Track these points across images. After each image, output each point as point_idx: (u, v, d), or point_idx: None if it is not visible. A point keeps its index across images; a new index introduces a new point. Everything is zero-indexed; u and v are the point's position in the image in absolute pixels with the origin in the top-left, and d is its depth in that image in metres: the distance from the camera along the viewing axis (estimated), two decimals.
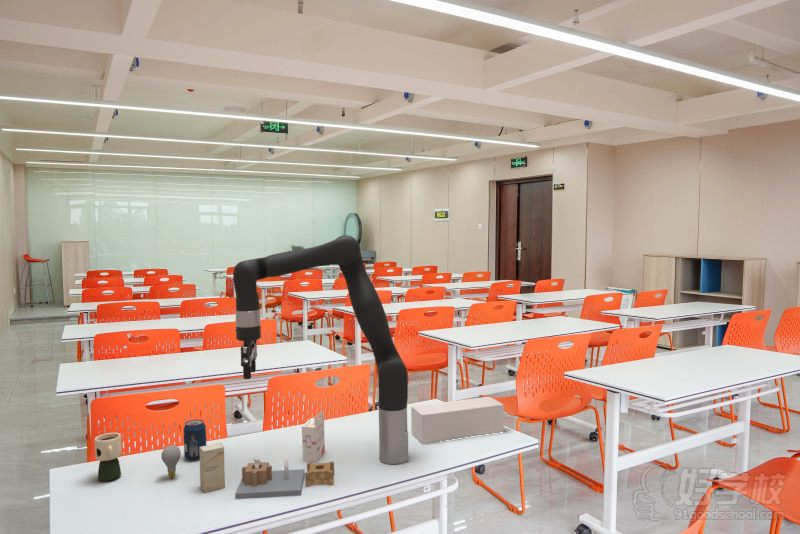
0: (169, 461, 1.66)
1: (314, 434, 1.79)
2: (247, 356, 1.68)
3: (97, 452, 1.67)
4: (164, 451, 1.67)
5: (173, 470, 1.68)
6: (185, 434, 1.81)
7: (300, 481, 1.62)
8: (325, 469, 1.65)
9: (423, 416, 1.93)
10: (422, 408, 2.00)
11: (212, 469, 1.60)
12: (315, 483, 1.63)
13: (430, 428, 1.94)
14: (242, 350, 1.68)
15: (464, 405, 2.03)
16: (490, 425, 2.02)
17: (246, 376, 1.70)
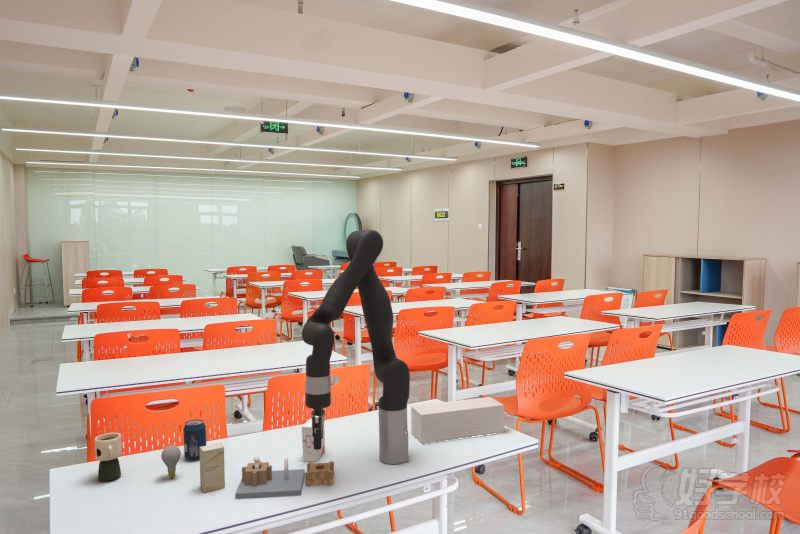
0: (169, 461, 1.66)
1: None
2: (319, 426, 1.58)
3: (97, 452, 1.67)
4: (164, 451, 1.67)
5: (173, 470, 1.68)
6: (185, 434, 1.81)
7: (300, 481, 1.62)
8: (325, 469, 1.65)
9: (422, 416, 1.93)
10: (422, 408, 2.00)
11: (212, 469, 1.60)
12: (315, 483, 1.63)
13: (429, 428, 1.94)
14: (314, 420, 1.58)
15: (464, 405, 2.03)
16: (490, 425, 2.01)
17: (317, 447, 1.60)
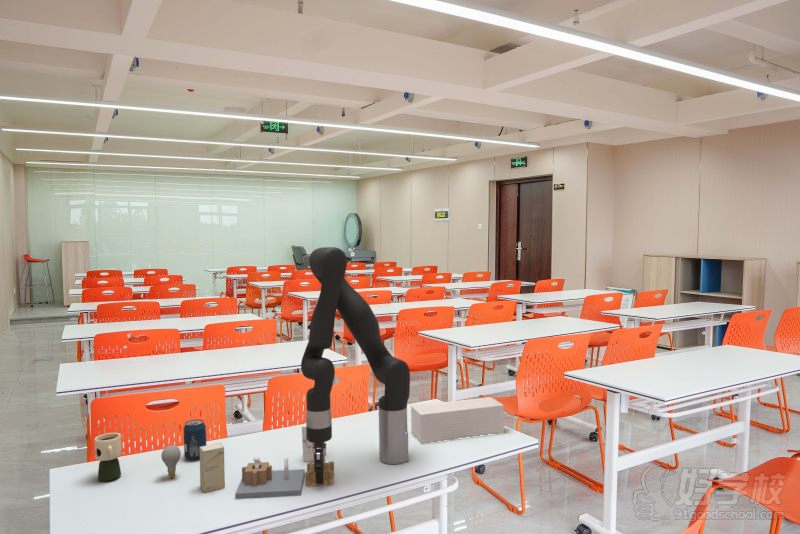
0: (169, 461, 1.66)
1: None
2: (321, 463, 1.59)
3: (97, 452, 1.67)
4: (164, 451, 1.67)
5: (173, 470, 1.68)
6: (185, 434, 1.81)
7: (300, 481, 1.62)
8: (325, 469, 1.65)
9: (422, 416, 1.93)
10: (422, 408, 2.00)
11: (212, 469, 1.60)
12: (315, 483, 1.63)
13: (429, 428, 1.94)
14: (315, 457, 1.59)
15: (464, 405, 2.03)
16: (490, 425, 2.01)
17: (319, 481, 1.62)
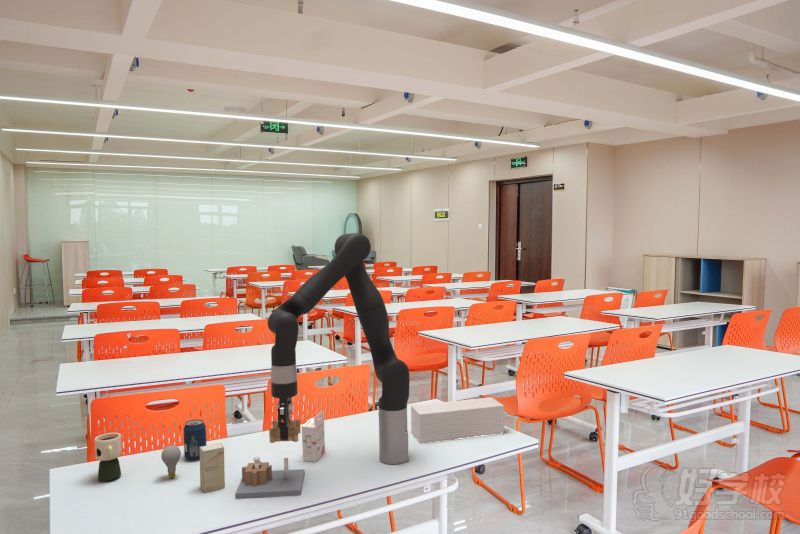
0: (169, 461, 1.66)
1: (314, 434, 1.79)
2: (284, 418, 1.57)
3: (97, 452, 1.67)
4: (164, 451, 1.67)
5: (173, 470, 1.68)
6: (185, 434, 1.81)
7: (300, 481, 1.62)
8: (290, 425, 1.62)
9: (421, 415, 1.94)
10: (421, 407, 2.00)
11: (212, 469, 1.60)
12: (279, 439, 1.60)
13: (428, 428, 1.94)
14: (279, 412, 1.56)
15: (464, 405, 2.02)
16: (490, 426, 2.01)
17: (283, 437, 1.59)
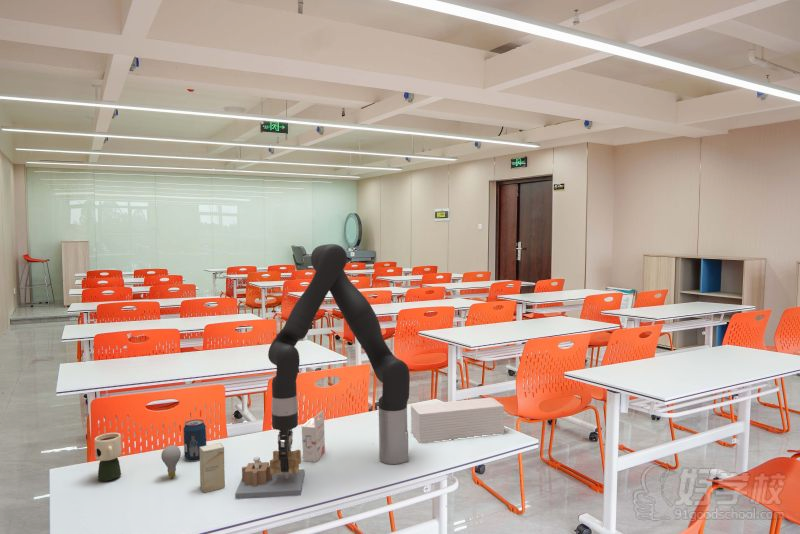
0: (169, 461, 1.66)
1: (314, 434, 1.79)
2: (285, 450, 1.57)
3: (97, 452, 1.67)
4: (164, 451, 1.67)
5: (173, 470, 1.68)
6: (185, 434, 1.81)
7: (300, 481, 1.62)
8: (291, 457, 1.63)
9: (420, 415, 1.94)
10: (421, 407, 2.01)
11: (212, 469, 1.60)
12: (280, 471, 1.61)
13: (428, 428, 1.95)
14: (280, 444, 1.57)
15: (464, 405, 2.02)
16: (490, 426, 2.01)
17: (284, 469, 1.60)
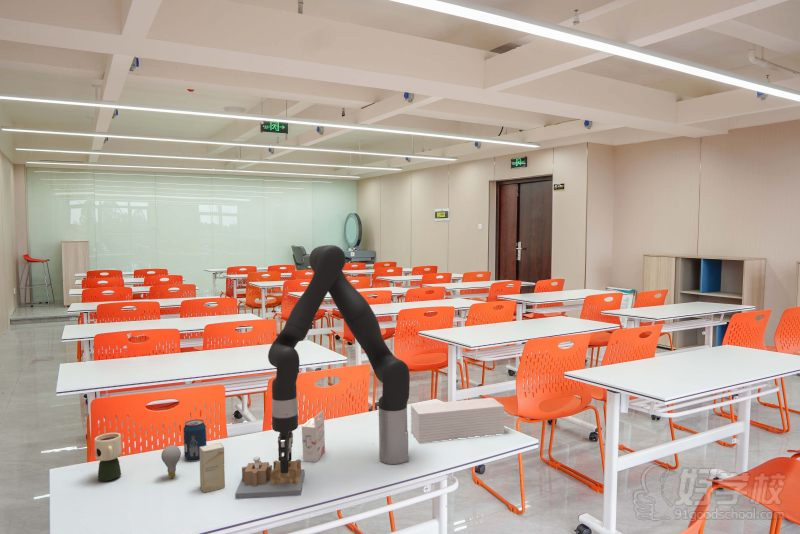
0: (169, 461, 1.66)
1: (314, 434, 1.79)
2: (285, 450, 1.57)
3: (97, 452, 1.67)
4: (164, 451, 1.67)
5: (173, 470, 1.68)
6: (185, 434, 1.81)
7: (300, 481, 1.62)
8: (291, 467, 1.63)
9: (420, 415, 1.94)
10: (421, 407, 2.01)
11: (212, 469, 1.60)
12: (280, 481, 1.61)
13: (427, 428, 1.95)
14: (280, 444, 1.57)
15: (464, 405, 2.02)
16: (490, 426, 2.00)
17: (283, 470, 1.59)
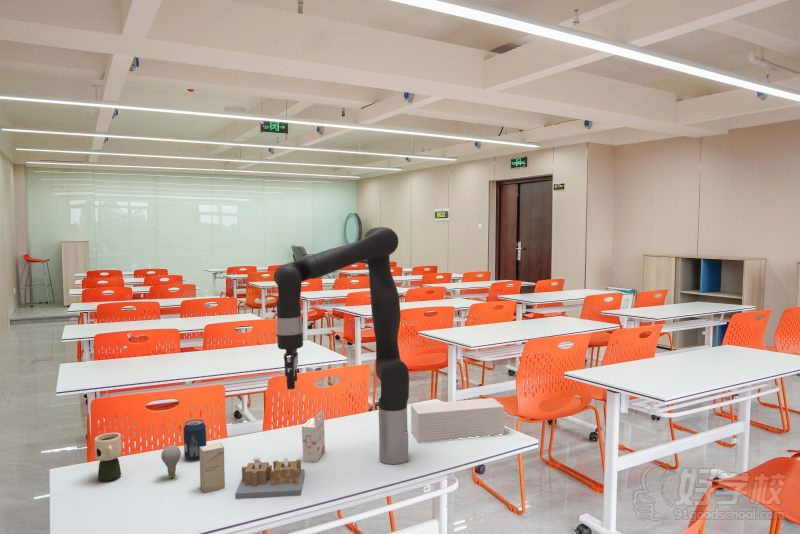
0: (169, 461, 1.66)
1: (314, 434, 1.79)
2: (291, 365, 1.60)
3: (97, 452, 1.67)
4: (164, 451, 1.67)
5: (173, 470, 1.68)
6: (185, 434, 1.81)
7: (300, 481, 1.62)
8: (291, 467, 1.63)
9: (419, 415, 1.94)
10: (421, 407, 2.01)
11: (212, 469, 1.60)
12: (280, 481, 1.61)
13: (427, 427, 1.95)
14: (286, 359, 1.60)
15: (464, 405, 2.02)
16: (490, 426, 2.00)
17: (290, 386, 1.62)
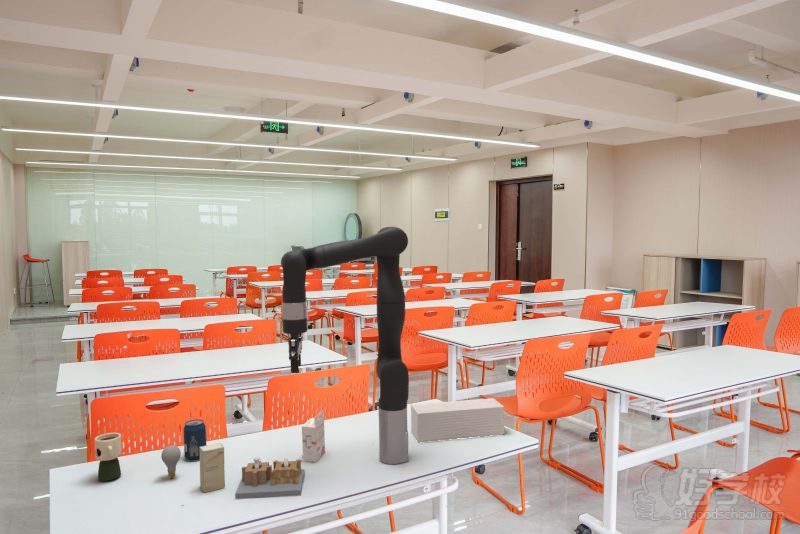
0: (169, 461, 1.66)
1: (314, 434, 1.79)
2: (295, 349, 1.63)
3: (97, 452, 1.67)
4: (164, 451, 1.67)
5: (173, 470, 1.68)
6: (185, 434, 1.81)
7: (300, 481, 1.62)
8: (291, 467, 1.63)
9: (419, 415, 1.94)
10: (421, 407, 2.01)
11: (212, 469, 1.60)
12: (280, 481, 1.61)
13: (426, 427, 1.95)
14: (290, 343, 1.63)
15: (464, 405, 2.02)
16: (489, 426, 2.00)
17: (294, 370, 1.65)
